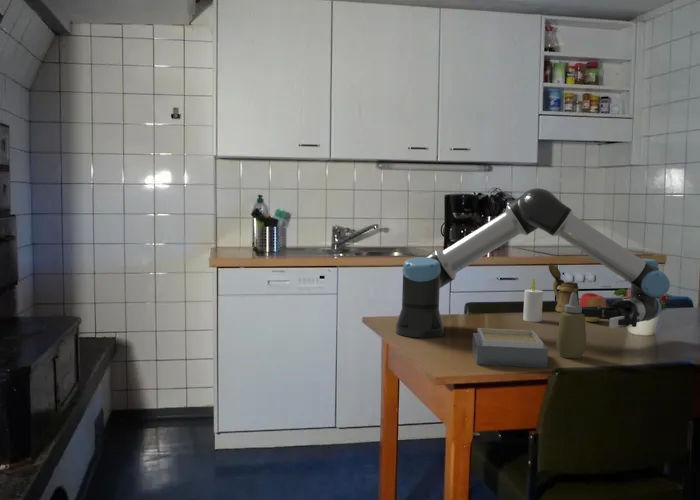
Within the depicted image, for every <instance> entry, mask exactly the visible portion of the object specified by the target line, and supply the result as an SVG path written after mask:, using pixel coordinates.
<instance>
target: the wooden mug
mask: <svg viewBox="0 0 700 500" xmlns="http://www.w3.org/2000/svg"><path fill="white" fill-rule="evenodd" d="M548 271H549V273H550V275H551V277H553V278H554V280H553V281H554V282H553V284H552V285H553V286H552V289H553V290H552V291H553V292H554V296H555V298H556V301H557V303H556V304H555V312H557V313H560V314H561V313H563V312H566V311H564V307H565V305H568V304H569V301H570V297H571V294H572V292H574V293H576V294H577V300H578V305H579V302H580V298H579V292H580V288H579V285H578V282H571V281H569V282H568V281H567V282H564V279H562V278H561V277H562V275H561V271H560V270H559V268H558V267H557V266H556V265H554V264H553V263H552V262H549V264H548Z"/></svg>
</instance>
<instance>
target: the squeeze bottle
mask: <svg viewBox="0 0 700 500" xmlns="http://www.w3.org/2000/svg"><path fill="white" fill-rule="evenodd" d="M564 311H566V312H563V313H560V315H559V323H558V330H557V335H556V336H557V337H556V342H555V344H556V347H557V351H558V354H559V356H560V357H563V358H567V359H581V358H582V356H583V354H584V351H585V349H586V347H587V331H586V330H587V328H586V320H585V315H584V314H582V313H581V312H582V306H580V305H578V300H577V294H576V293H574V292H572V294H571V297H570V301H569V304H568V305H565V307H564Z"/></svg>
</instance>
